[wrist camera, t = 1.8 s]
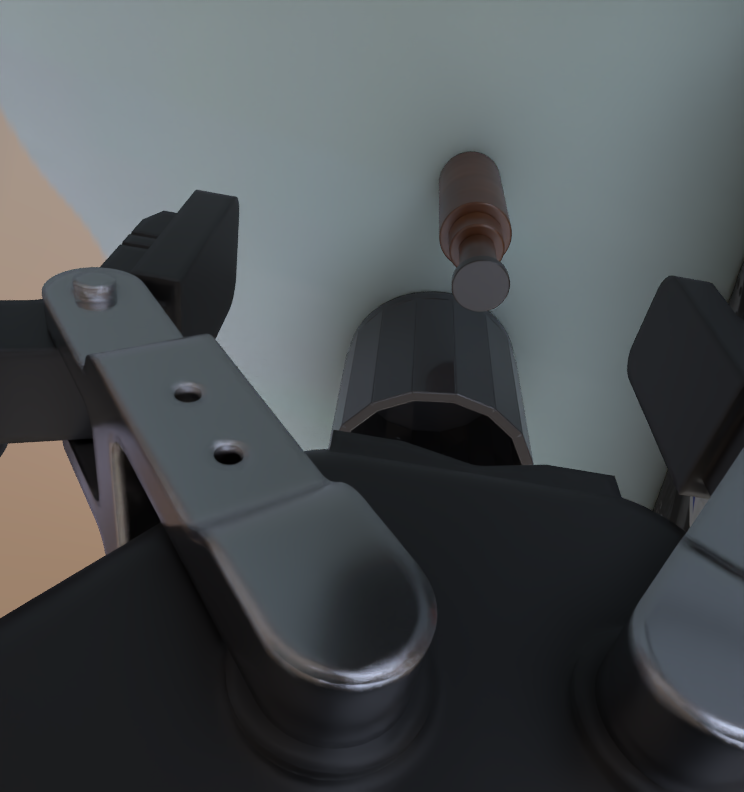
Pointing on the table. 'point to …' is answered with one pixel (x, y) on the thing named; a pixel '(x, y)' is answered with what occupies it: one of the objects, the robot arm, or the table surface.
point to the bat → (474, 230)
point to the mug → (435, 381)
